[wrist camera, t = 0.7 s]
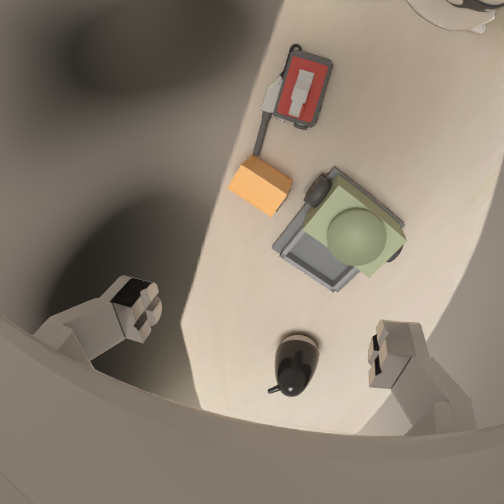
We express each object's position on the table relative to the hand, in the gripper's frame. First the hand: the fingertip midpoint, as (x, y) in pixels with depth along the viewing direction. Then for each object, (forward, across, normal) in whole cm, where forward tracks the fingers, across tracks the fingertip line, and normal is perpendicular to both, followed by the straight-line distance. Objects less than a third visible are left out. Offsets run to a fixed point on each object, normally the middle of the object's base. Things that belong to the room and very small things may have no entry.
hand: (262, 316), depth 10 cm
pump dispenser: (+40, -3, +46) cm, 61 cm away
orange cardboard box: (+40, +7, +7) cm, 41 cm away
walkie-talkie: (+40, +3, -6) cm, 40 cm away
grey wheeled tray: (+40, -6, +16) cm, 43 cm away
